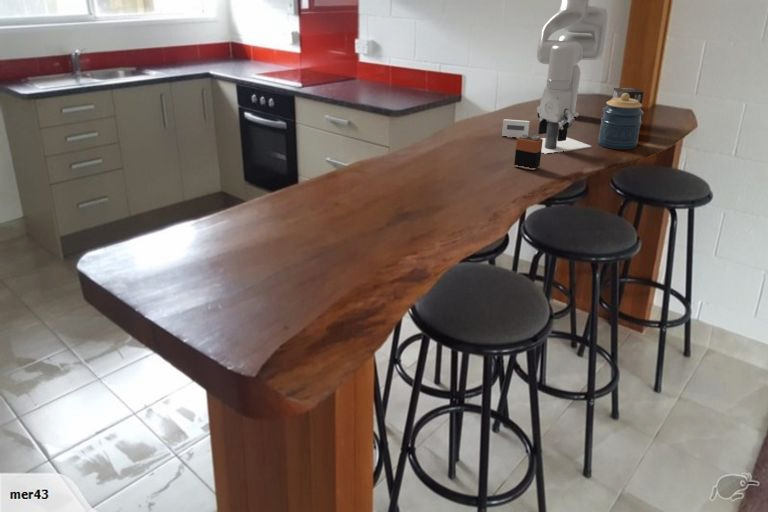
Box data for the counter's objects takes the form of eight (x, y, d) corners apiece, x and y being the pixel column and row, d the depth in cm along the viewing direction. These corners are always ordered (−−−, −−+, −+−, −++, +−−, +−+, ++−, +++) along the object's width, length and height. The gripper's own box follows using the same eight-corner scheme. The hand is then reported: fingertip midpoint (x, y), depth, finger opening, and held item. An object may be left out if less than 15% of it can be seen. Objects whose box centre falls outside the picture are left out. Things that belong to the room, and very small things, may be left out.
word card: (502, 135, 221) (503, 119, 218) (527, 137, 218) (529, 121, 216) (501, 136, 220) (503, 120, 217) (527, 138, 217) (529, 121, 215)
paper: (516, 143, 212) (516, 141, 212) (561, 136, 220) (562, 135, 220) (544, 154, 200) (545, 153, 200) (591, 147, 208) (591, 146, 208)
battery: (534, 171, 184) (538, 139, 180) (513, 167, 188) (516, 135, 183) (539, 167, 188) (543, 135, 183) (519, 163, 191) (522, 132, 187)
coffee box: (631, 132, 226) (639, 87, 219) (636, 137, 220) (644, 91, 213) (606, 131, 227) (613, 87, 220) (610, 136, 221) (618, 90, 214)
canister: (596, 148, 207) (604, 95, 199) (598, 138, 218) (606, 88, 210) (637, 152, 203) (647, 98, 195) (636, 142, 214) (646, 90, 206)
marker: (541, 146, 207) (545, 114, 202) (551, 145, 208) (555, 113, 203) (549, 149, 204) (553, 116, 199) (559, 148, 205) (563, 115, 200)
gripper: (532, 81, 202) (526, 132, 210) (567, 90, 188) (560, 145, 196) (550, 79, 205) (543, 129, 213) (586, 88, 191) (578, 142, 199)
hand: (551, 137), depth 204 cm, fingers open, 9 cm apart
